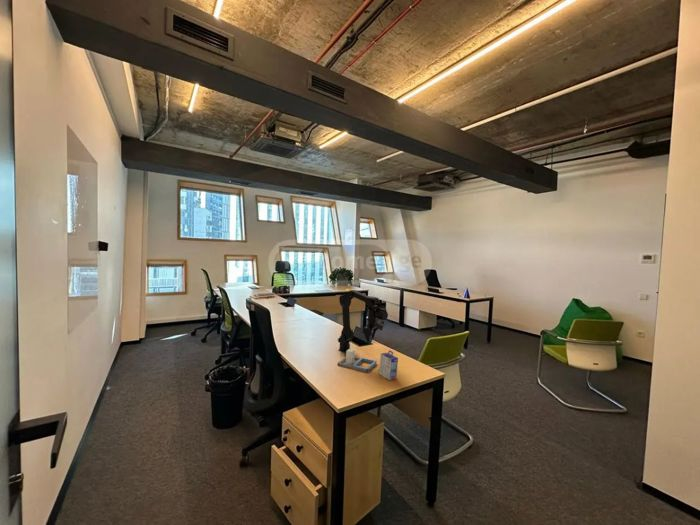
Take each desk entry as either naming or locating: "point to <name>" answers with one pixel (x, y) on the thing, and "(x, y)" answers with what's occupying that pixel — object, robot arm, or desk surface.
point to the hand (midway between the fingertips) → (370, 340)
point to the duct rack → (355, 366)
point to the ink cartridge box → (388, 365)
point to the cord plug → (350, 356)
